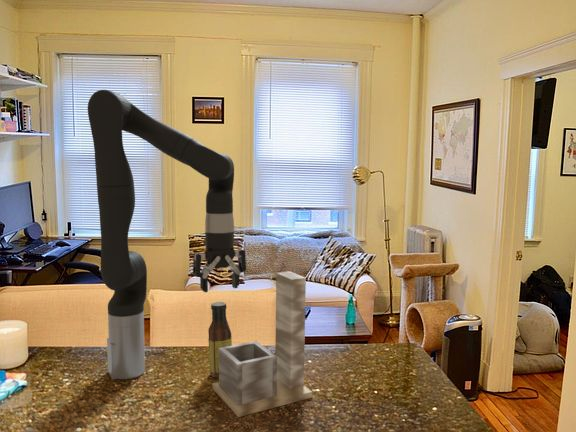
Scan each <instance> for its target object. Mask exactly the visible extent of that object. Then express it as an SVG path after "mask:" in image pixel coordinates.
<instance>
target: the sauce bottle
mask: <svg viewBox="0 0 576 432" xmlns="http://www.w3.org/2000/svg"><path fill="white" fill-rule="evenodd" d="M210 309H211V323H210V325H209V328H208V330H207V331H208V359H209V361H208V362H209V363H208V364H209V371H210V376H211V377H213V378H215V379H219V348H222V347H227V346H233V341H232V339H233V338H232V331H231V329H230V325H229V322H228V320H227V312H226V311H227V303H226V302H224V301H216V302H212V303H211V304H210Z"/></svg>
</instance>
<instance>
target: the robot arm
mask: <svg viewBox="0 0 576 432" xmlns="http://www.w3.org/2000/svg"><path fill="white" fill-rule="evenodd" d="M87 115H88V121H89V125H90V126H89V127H90V131H91V135H92V142H93V150H94V161H95V163H94V165H95V166H94V167H95V175H96V190H97V191H96V193H97V203H98V210H99V224H100V225H99V227H100V228H99V229H100V240H101V241H100V275H101V278H102V281H103V284H104V285H105V286H106V287H107V288H108V289H109V290H111V291H114V293H113V295H112V297H111V299H110V300H109V301H108V303H107V329H108V330H107V331H108V337H107V339H106V346H107V348H106V349H107V351H106V352H107V372H108V375H109V376H110V378H111V380H128V379H129V380H130V379H134V378H138V377H140V376H142V375H143V374H144V373H145V371H146V362H145V361H146V360H145V358H146V356H145V353H146V351H145V318H144V317H145V311H144V310H145V309H144V307H145V305H144V304H145V302H146V299H147V288H148V286H147V283H148V278H147V277H148V274H147V273H148V270H147V265H146V261H145V259H144V256H142V255H141V254H140V253H138V252H137V251H133V250H129V231H130V226H131V223H132V219H133V215H134V212H135V207H136V194H135V183H134V176H133V172H132V168H131V167H130V162H129V161H128V158H127V155H126V152H125V149H124V143H123V132H126V133H129V134H132V135H134V136H136V137H138V138H140V139H142V140H143V141H146V142H147V143H148V144H150V145H151V146H153V147H155V148H156V149H157V150H159V151H160V152H162V154H164V155H167V156H168V157H171V158H172V159H174V160H176V161H178V162H179V163H182V164H183V165H187V166H189V167H190V168H192V169H193V170H194V171H196V172H197V173H199V174H200V175H202V176H204V177H205V178H207V179H208V190H207V193H206V195H205V212H206V213H205V220H204V221H205V222H204V225H205V226H204V227H205V229H204V234H205V236H204V237H205V241H204V242H205V243H204V244H205V251H204V253H198V252H194V253H193V258H192V259H193V261H192V262H193V265H192V275H193V276H195V277H197V278H199V279H200V280H199V283H200V284H199V285H200V286H199V287H200V290H201V291H202V292H203V293H208V292H209V289H208V287H209V285H208V284H209V282H208V280H209V279H208V276H209V275H210V273H211V272H213V270H214V269H220V268H227V267H228V268H229V269H230V270H231V272H232V273H231V286H232V288H233V289H238V288H239V286H240V275H241V273H243V272H244V273H245V272H246V271H247V260H246V250H245V249H242V248H238V249H236V250H235V248H234V247H235V219H234V208H233V207H234V205H233V203H234V201H233V200H234V199H233V191H234V182H235V181H234V180H235V163H234V161H233V159H232V158H231V157H230V156H229V155H227V154H224V153H220V152H217V151H215V150H214V149H211V148H209V147H207V146H206V145H204V144H202V143H201V142H200V141H199V140H198V139H195V138H193V137H192V136H190V135H188V134H186V133H184V132H183V131H180V130H178V129H177V128H174V127H172V126H170V125H167V124H166V123H163V122H161V121H159V120H157V119H156V118H154V117H152V116H150V115H149V114H147V113H145V112H144V111H143V110H141V109H140V108H139V107H137V106H136V105H134V104H133V103H132V102H131V101H130V100H128V99H127V98H126V97H125V96H124V95H122V94H120V93H119V92H118V93H117V92H114V91H112V90H108V89H99V90H96V91H95V92H94V93H93V94H92V95H91V96H90V97H89V100H88V103H87ZM235 257H236V258H237V263H238V265H236V264H235V262H234V261H233V260H234V258H235ZM204 259H205V260H206V262H205V264H203V268H202V262H203V261H204ZM201 268H202V269H201Z"/></svg>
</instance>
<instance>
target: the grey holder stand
mask: <svg viewBox="0 0 576 432" xmlns="http://www.w3.org/2000/svg"><path fill="white" fill-rule="evenodd" d="M275 276H276V277H275V279H276V283H275V348H274V349H275V354H274V353H273V352H272V351H271V350H270V349H268V348H267V347H265V346H264V345H262V343H260V342H258V341H257V340H255V341H249V342H244V343H240V344H239V343H238V344H232V346H227V347H222V348H219V378H218V381H216V382H213V383H212V390H213V391H214V393H216V394H217V396H219V397H220V399H221V400H222V401H223V402H224V403H225V404H226V405H227V406H228V408H230V410H231V411H232V412H233V413H234V414H235V415H236V416H237V418H241V417H243V416H244V417H245V416H248V415H251V414H255V413H258V412H259V413H260V412H263V411H266V410H270V409H274V408H278V407H281V406H282V407H283V406H285V405H290V404H293V403H295V402H299V401H300V402H301V401H304V400H308V399H312V398H313V391H312V390H311V389H309V388H308V387H307V386H305V385H304V384H305V346H306V345H305V344H306V343H305V341H306V338H305V336H306V335H305V334H306V294H307V292H306V289H307V288H306V287H307V286H306V285H307V284H306V283H307V282H306V280H307V278H306V277H305V276H302V275H300V274H298V273H295V272H292V271H289V270H288V271H280V272H276V275H275Z"/></svg>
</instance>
